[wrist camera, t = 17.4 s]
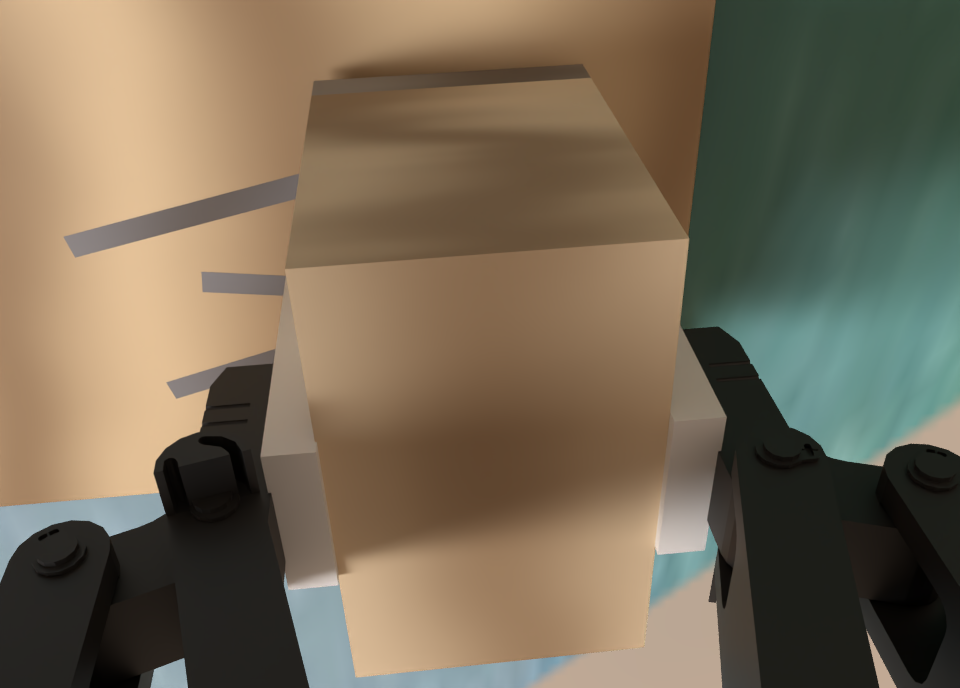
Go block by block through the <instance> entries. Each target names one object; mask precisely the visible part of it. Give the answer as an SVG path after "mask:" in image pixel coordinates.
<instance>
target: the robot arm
mask: <svg viewBox="0 0 960 688" xmlns="http://www.w3.org/2000/svg"><path fill="white" fill-rule="evenodd" d="M758 376H759V375H758V373H757V372H756V370H755V368H754V366H753V365H752V364H750V360H749V358H748V356H747V355H746V353H745V351H744V349H743V348H742V346H741V344H740V343H739V342H738V341H737V340H736V339H734V338H733V337H732V336H730V335H729V334H728V333H726V332H725V331H724V330H722V329H721V328H720V327H707V328H694V329H682V328H681V326H680V327H679V337H678V346H677V355H676V364H675V373H674V382H673V391H672V400H671V409H670V418H669V428H668V437H667V446H666V455H665V463H664V472H663V481H662V489H661V498H660V506H659V515H658V523H657V532H656V540H655V548H656V551H657V554H658V555H660V554H670V553H681V552H691V551H702V550H705V546H706V539H707V533H708V527H709V526H710V529H711V531H712V533H713V536H714V538H715V541H716V543H717V545H718V551H717V557H716V563H715V568H714V574H713V579H712V586H711V591H710V596H709V602H714V603H716V601H717V615H718V629H719V644H720V659H721V673H722V688H879V684H878V680H877V675H876V671H875V666H874V662H873V658H872V654H871V649H870V644H869V640H868V636H867V632H866V630H867V631H868V633H869V635H870V637H871V639H872V641H873V643H874V645H875V647H876V649H877V650H878V652H879V654H880V656H881V658H882V660H883V662H884V664H885V666H886V668H887V670H888V671H889V673H890V675H891V677H892V679H893V681H894V683H895V685H896V687H897V688H960V456H958V455H956V454H954V453H952V452H950V451H949V450H946V449H942V448H939V447H935V446H932V445H926V444H908V445H903V446H899V447H896V448H895V449H893V450H892V451H891V452H889V453H888V454H887V455H886V458H885V462H884V465H883V467H882V466H875V465H868V464H861V463H854V462H847V461H842V460H837V459H833V458H830V457H827V456H826V455H825V453H824V451H823V449H822V447H821V445H819V444H818V443H817V442H816V441H815V440H814V439H812V438H811V437H810V436H809V435H806V434H804V433H802V432H800V431H798V430H796V429H793V428H789V426H788V425H787V423H786V421H785V419H784V418H783V416H782V414H781V413H780V411H779V409H778V407H777V406H776V404H775V402H774V401H773V399H772V397H771V396H770V394H769V392H768V390H767V389H766V387H765V385H764V384H763V382H762V380H761V379H759V377H758ZM153 474H154V477H155V480H156V484H157V487H158V490H159V493H160V497H161V500H162V503H163V506H164V510H165V513H166V514H164V515H163V516H161V517H159V518H158V519H156V520H154V521H153V522H150V523H148V524H145V525H143V526H141V527H138V528H135V529H132V530H129V531H126V532H123V533H120V534H117V535H113V536H110V537H109V535H108V534H107V532H106V531H105V530H104V528H103V527H101V526H99V525H97V524H95V523H92V522H90V521H73V520H71V521H67V522H63V523H58V524H54V525H51V526H49V527H47V528H45V529H43V530H41V531H39V532H37V533H35V534H33V535H32V536H31V537H29V538H28V539H27V540H26V541H25V542H23V543H22V544H21V545H20V546H19V547H18V548H17V550H16V551H15V553H14V554H13V556H12V557H11V559H10V560H9V563H8V565H7V568H6V570H5V573H4V575H3V578H2V580H1V583H0V688H150V687H151V682H152V677H153V672H154V669H156V668H158V667H161V666H164V665H166V664H169V663H172V662H174V661H177V660H179V659H182V658H184V659H185V667H186V675H187V683H188V688H309V684H308V680H307V676H306V672H305V668H304V664H303V660H302V656H301V652H300V648H299V644H298V640H297V636H296V632H295V628H294V625H293V621H292V617H291V613H290V609H289V605H288V601H287V597H286V593H285V589H284V575H285V574H286V579H287V583H288V588H289V590H294V589H304V588H315V587H325V586H336V585H338V583H339V574H338V568H337V562H336V556H335V550H334V543H333V537H332V531H331V525H330V519H329V513H328V507H327V501H326V495H325V489H324V483H323V477H322V471H321V465H320V459H319V453H318V446H317V442H315V440H314V434H313V428H312V423H311V417H310V411H309V405H308V400H307V394H306V388H305V382H304V377H303V371H302V365H301V359H300V354H299V348H298V342H297V337H296V331H295V325H294V319H293V314H292V308H291V302H290V296H289V291H288V285H287V279H286V280H285V287H284V294H283V301H282V308H281V315H280V322H279V329H278V336H277V343H276V350H275V357H274V363H273V364H261V365H248V366H235V367H226V368H225V370H224V371H223V372H222V373H221V374H220V375H219V377H218V378H217V379H216V380H215V381H214V382H213V384H212V385H211V386H210V389H209V394H208V398H207V402H206V411H204V415H203V420H202V427H201V428H200V432H197V433H194V434H191V435H189V436H186V437H183V438H180V439H179V440H177V441H176V442H174V443H173V444H171V445H170V446H168V447H167V448H165V449H164V451H163V452H162V453H161V455H160V456H159V457H158V459H157V460H156V462H155V467H154V473H153Z"/></svg>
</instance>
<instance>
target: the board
mask: <svg viewBox="0 0 960 688" xmlns="http://www.w3.org/2000/svg"><path fill="white" fill-rule="evenodd" d="M715 2H716V0H0V506H12V505H23V504H35V503H46V502H58V501H70V500H81V499H93V498H104V497H116V496H128V495H139V494H151V493H159V490H158V487H157V484H156V480H155V477H154V474H153V473H154V467H155V462H156V460H157V459H158V457H159V456H160V455H161V453H162V452H163V451H164V449H165V448H167V447H168V446H170V445H171V444H173V443H174V442H176V441H177V440H179V439H180V438H183V437H186V436H189V435H191V434H194V433H197V432H200V428H201V427H202V420H203V415H204V411H206V402H207V398H208V394H209V389H210V386H211V385H212V384H213V382H214V381H215V380H216V379H217V378H218V377H219V375H220V374H221V373H222V372H223V371H224V370H225V368H226V367H235V366H248V365H261V364H273V363H274V357H275V350H276V343H277V336H278V329H279V322H280V315H281V308H282V301H283V294H284V287H285V280H286V273H285V265H286V258H287V252H288V245H289V239H290V232H291V226H292V219H293V213H294V206H295V200H296V193H297V186H298V180H299V173H300V167H301V160H302V154H303V147H304V141H305V134H306V128H307V121H308V115H309V108H310V102H311V95H312V89H313V82H314V81H320V80H336V79H352V78H367V77H383V76H399V75H415V74H431V73H447V72H463V71H479V70H495V69H511V68H526V67H542V66H558V65H574V64H583V66H584V67H585V69H586V71H587V72H588V74H589V75H590V77H591V79H592V80H593V82H594V84H595V85H596V87H597V89H598V90H599V92H600V93H601V95H602V97H603V98H604V100H605V102H606V103H607V105H608V107H609V108H610V110H611V111H612V113H613V115H614V116H615V118H616V120H617V121H618V123H619V125H620V126H621V128H622V129H623V131H624V133H625V134H626V136H627V138H628V139H629V141H630V143H631V144H632V146H633V147H634V149H635V151H636V152H637V154H638V156H639V157H640V159H641V161H642V162H643V164H644V165H645V167H646V169H647V170H648V172H649V174H650V175H651V177H652V179H653V180H654V182H655V183H656V185H657V187H658V188H659V190H660V192H661V193H662V195H663V197H664V198H665V200H666V201H667V203H668V205H669V206H670V208H671V210H672V211H673V213H674V215H675V216H676V218H677V219H678V221H679V223H680V224H681V226H682V228H683V229H684V231H685V232H686V234H687V236H688V234H689V226H690V217H691V208H692V200H693V191H694V183H695V174H696V166H697V157H698V148H699V140H700V131H701V123H702V114H703V105H704V97H705V88H706V80H707V71H708V63H709V54H710V45H711V37H712V28H713V20H714V11H715Z"/></svg>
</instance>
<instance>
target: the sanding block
mask: <svg viewBox="0 0 960 688" xmlns="http://www.w3.org/2000/svg"><path fill="white" fill-rule="evenodd" d="M688 246H689V237H688V236H687V234H686V232H685V231H684V229H683V228H682V226H681V224H680V223H679V221H678V219H677V218H676V216H675V215H674V213H673V211H672V210H671V208H670V206H669V205H668V203H667V201H666V200H665V198H664V197H663V195H662V193H661V192H660V190H659V188H658V187H657V185H656V183H655V182H654V180H653V179H652V177H651V175H650V174H649V172H648V170H647V169H646V167H645V165H644V164H643V162H642V161H641V159H640V157H639V156H638V154H637V152H636V151H635V149H634V147H633V146H632V144H631V143H630V141H629V139H628V138H627V136H626V134H625V133H624V131H623V129H622V128H621V126H620V125H619V123H618V121H617V120H616V118H615V116H614V115H613V113H612V111H611V110H610V108H609V107H608V105H607V103H606V102H605V100H604V98H603V97H602V95H601V93H600V92H599V90H598V89H597V87H596V85H595V84H594V82H593V80H592V79H591V77H590V75H589V74H588V72H587V71H586V69H585V67H584V66H583V64H574V65H558V66H542V67H526V68H511V69H495V70H479V71H463V72H447V73H431V74H415V75H399V76H383V77H367V78H352V79H336V80H320V81H314V82H313V89H312V95H311V102H310V108H309V115H308V121H307V128H306V134H305V141H304V147H303V154H302V160H301V167H300V173H299V180H298V186H297V193H296V200H295V206H294V213H293V219H292V226H291V232H290V239H289V245H288V252H287V258H286V265H285V273H286V279H287V285H288V291H289V296H290V302H291V308H292V314H293V319H294V325H295V331H296V337H297V342H298V348H299V354H300V359H301V365H302V371H303V377H304V382H305V388H306V394H307V400H308V405H309V411H310V417H311V423H312V428H313V434H314V440H315V442H317V446H318V453H319V459H320V465H321V471H322V477H323V483H324V489H325V495H326V501H327V507H328V513H329V519H330V525H331V531H332V537H333V543H334V550H335V556H336V562H337V568H338V574H339V583H340V589H341V595H342V601H343V606H344V612H345V618H346V624H347V629H348V635H349V641H350V647H351V652H352V658H353V664H354V669H355V675H356V677H365V676H375V675H384V674H394V673H403V672H413V671H423V670H432V669H442V668H451V667H461V666H471V665H480V664H490V663H499V662H509V661H518V660H528V659H538V658H547V657H557V656H566V655H576V654H586V653H594V652H604V651H614V650H623V649H633V648H643V647H644V646H645V637H646V628H647V619H648V609H649V600H650V591H651V582H652V573H653V564H654V555H655V540H656V532H657V523H658V515H659V506H660V498H661V489H662V481H663V472H664V463H665V455H666V446H667V437H668V428H669V418H670V409H671V400H672V391H673V382H674V373H675V364H676V355H677V346H678V337H679V327H680V318H681V309H682V300H683V291H684V282H685V273H686V264H687V255H688Z"/></svg>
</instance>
